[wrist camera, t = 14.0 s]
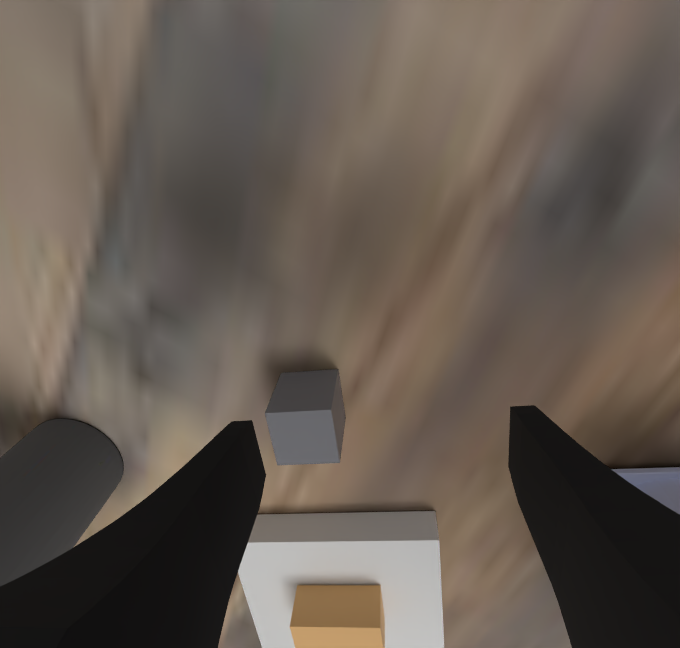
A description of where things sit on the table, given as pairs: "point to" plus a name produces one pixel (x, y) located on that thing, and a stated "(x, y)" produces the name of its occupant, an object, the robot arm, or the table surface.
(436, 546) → the white layered base plate
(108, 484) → the bottle
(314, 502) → the table surface
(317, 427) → the cover
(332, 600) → the slider
